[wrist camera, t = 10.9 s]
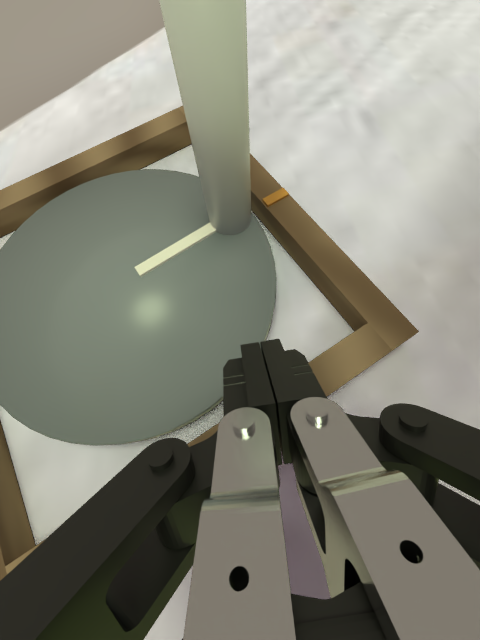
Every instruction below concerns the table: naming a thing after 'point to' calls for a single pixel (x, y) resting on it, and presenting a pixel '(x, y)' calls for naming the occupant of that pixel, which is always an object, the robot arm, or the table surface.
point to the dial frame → (279, 218)
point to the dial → (144, 267)
